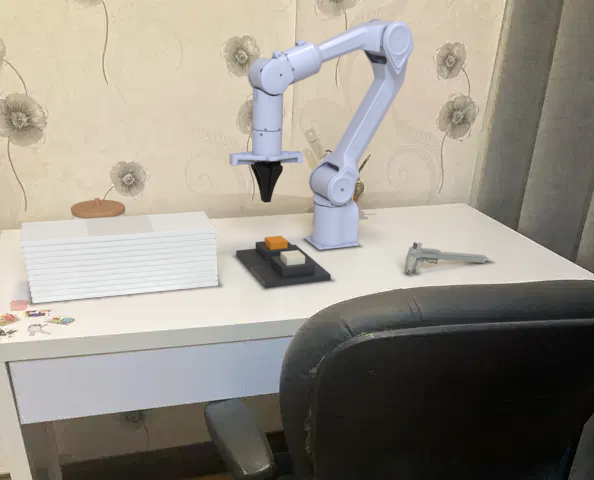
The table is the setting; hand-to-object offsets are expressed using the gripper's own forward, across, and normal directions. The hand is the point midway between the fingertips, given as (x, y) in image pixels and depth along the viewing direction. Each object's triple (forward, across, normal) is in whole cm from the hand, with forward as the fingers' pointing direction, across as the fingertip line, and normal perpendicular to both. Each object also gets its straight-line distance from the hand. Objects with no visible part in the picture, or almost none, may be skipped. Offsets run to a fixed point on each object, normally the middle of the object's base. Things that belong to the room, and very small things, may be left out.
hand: (265, 201), depth 132 cm
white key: (+8, 0, -15) cm, 17 cm away
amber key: (+8, 0, -6) cm, 10 cm away
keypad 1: (+10, 0, -6) cm, 12 cm away
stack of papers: (+11, -30, -9) cm, 33 cm away
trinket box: (+11, -31, +15) cm, 36 cm away
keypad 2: (+10, 0, -15) cm, 18 cm away
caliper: (+10, +32, -20) cm, 39 cm away
